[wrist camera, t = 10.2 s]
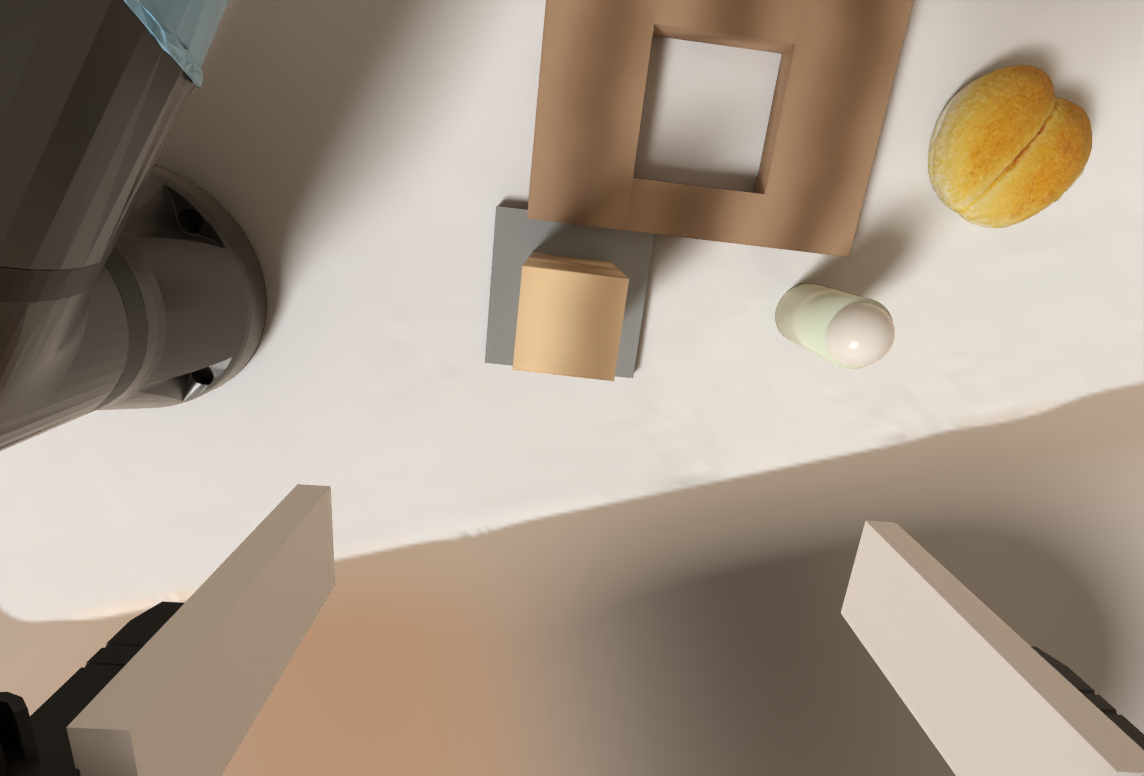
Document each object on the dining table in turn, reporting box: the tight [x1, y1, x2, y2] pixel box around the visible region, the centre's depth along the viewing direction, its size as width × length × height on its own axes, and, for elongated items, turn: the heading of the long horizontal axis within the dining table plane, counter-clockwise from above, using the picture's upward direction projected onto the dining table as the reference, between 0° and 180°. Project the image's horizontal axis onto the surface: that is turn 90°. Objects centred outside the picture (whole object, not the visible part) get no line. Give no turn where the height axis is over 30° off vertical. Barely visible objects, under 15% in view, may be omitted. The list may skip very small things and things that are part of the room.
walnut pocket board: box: [527, 0, 914, 257], centre depth 33 cm, size 20×14×2 cm
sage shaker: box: [775, 284, 895, 369], centre depth 34 cm, size 4×4×9 cm
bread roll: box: [928, 65, 1092, 228], centre depth 34 cm, size 8×9×4 cm
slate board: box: [485, 206, 655, 378], centre depth 37 cm, size 10×10×1 cm
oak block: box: [513, 252, 629, 381], centre depth 32 cm, size 5×5×10 cm
